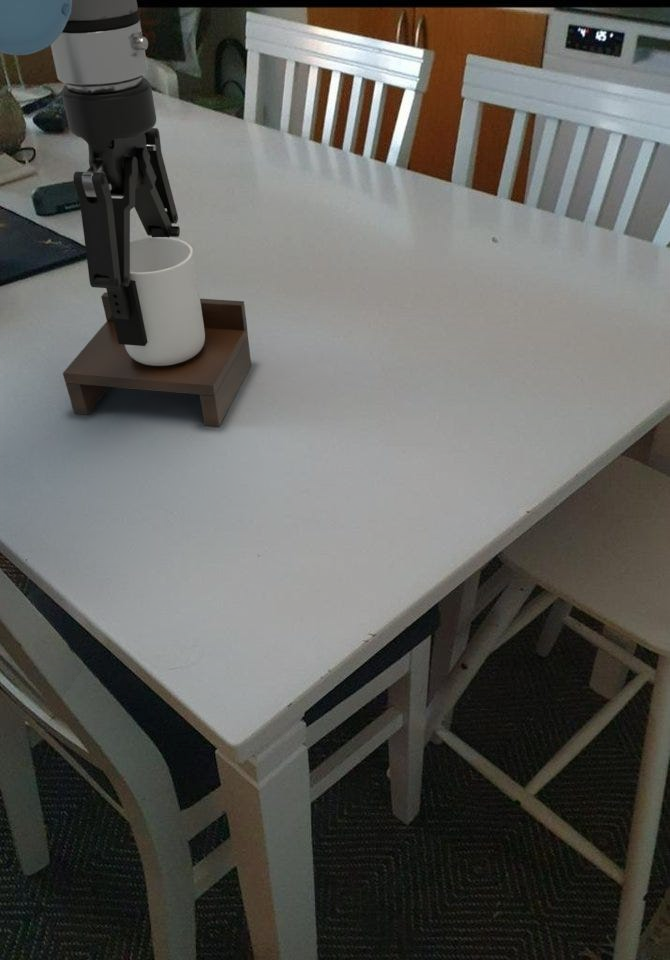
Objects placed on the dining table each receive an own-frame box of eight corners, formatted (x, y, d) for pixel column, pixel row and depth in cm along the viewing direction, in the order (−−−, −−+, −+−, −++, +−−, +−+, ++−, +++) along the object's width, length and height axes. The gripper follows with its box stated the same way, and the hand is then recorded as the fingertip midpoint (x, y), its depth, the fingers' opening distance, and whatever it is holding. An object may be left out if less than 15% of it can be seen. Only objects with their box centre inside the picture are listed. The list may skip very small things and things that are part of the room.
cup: (150, 376, 80) (130, 281, 73) (96, 331, 87) (74, 241, 81) (221, 348, 84) (209, 255, 77) (164, 307, 91) (148, 219, 85)
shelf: (74, 413, 85) (54, 347, 80) (119, 355, 94) (104, 292, 89) (219, 427, 82) (208, 359, 77) (251, 365, 91) (244, 301, 86)
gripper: (92, 118, 60) (146, 379, 74) (189, 52, 76) (218, 276, 90) (-1, 116, 61) (70, 372, 75) (114, 51, 77) (155, 272, 92)
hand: (151, 319), depth 83 cm, fingers closed on cup, 9 cm apart
